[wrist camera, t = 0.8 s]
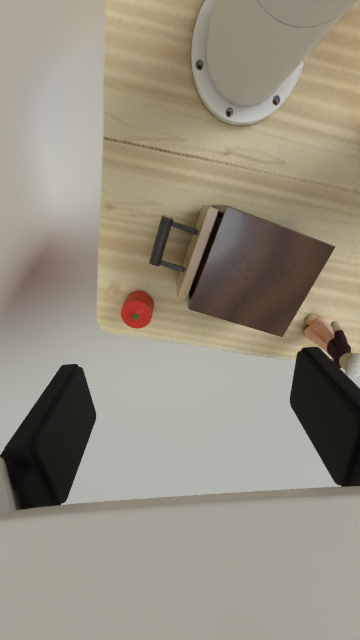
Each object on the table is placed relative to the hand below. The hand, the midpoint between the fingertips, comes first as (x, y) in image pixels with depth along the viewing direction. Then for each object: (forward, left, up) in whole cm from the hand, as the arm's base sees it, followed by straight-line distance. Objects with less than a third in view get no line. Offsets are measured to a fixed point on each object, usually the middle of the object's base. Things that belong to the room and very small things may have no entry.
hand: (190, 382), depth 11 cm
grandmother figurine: (+5, +26, -30) cm, 40 cm away
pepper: (+10, -4, -29) cm, 31 cm away
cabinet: (-2, +9, -29) cm, 31 cm away
